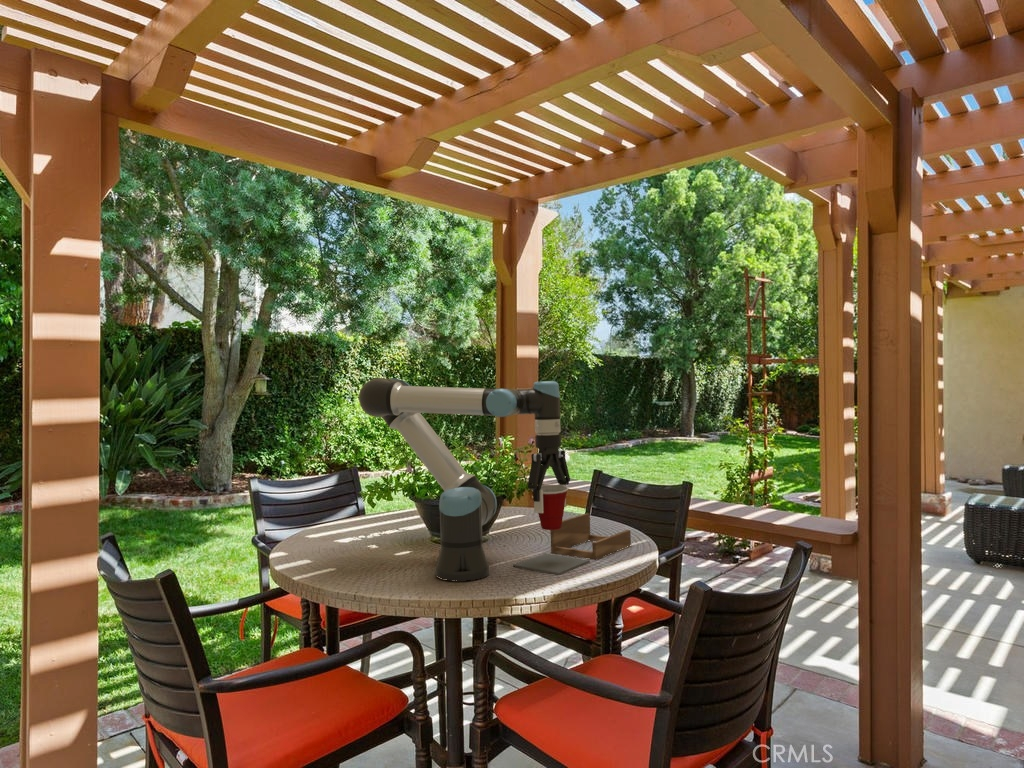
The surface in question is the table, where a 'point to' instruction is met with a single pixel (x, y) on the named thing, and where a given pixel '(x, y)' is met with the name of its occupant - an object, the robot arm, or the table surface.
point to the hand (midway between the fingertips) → (550, 509)
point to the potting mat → (551, 563)
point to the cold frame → (585, 539)
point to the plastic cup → (553, 506)
